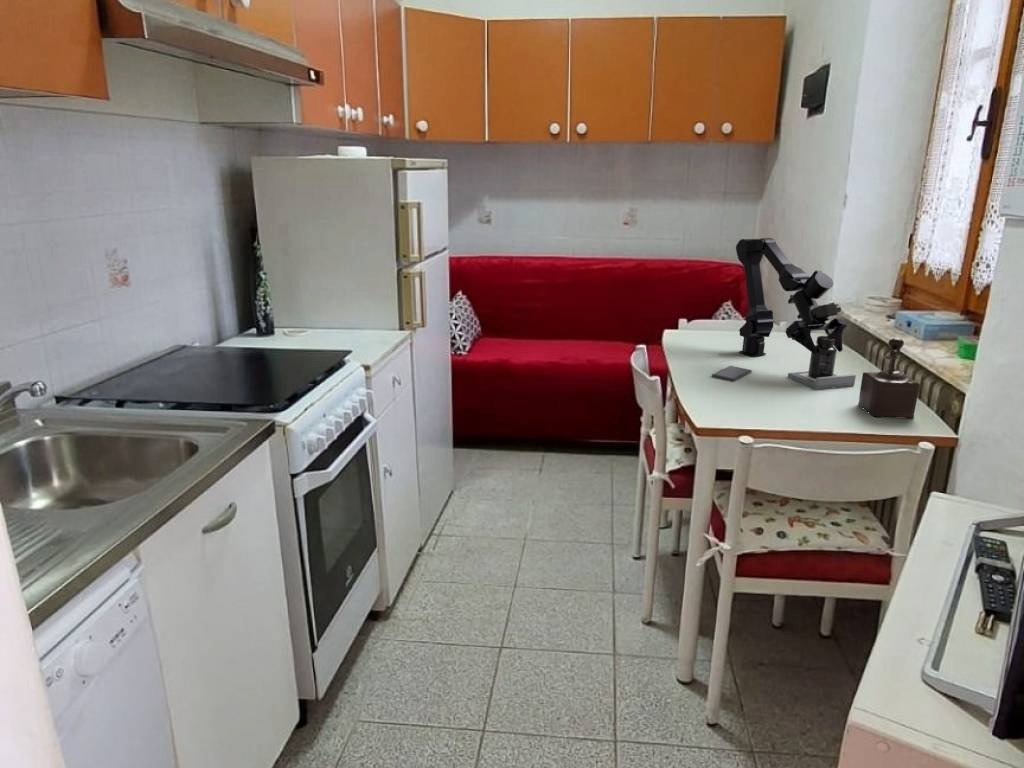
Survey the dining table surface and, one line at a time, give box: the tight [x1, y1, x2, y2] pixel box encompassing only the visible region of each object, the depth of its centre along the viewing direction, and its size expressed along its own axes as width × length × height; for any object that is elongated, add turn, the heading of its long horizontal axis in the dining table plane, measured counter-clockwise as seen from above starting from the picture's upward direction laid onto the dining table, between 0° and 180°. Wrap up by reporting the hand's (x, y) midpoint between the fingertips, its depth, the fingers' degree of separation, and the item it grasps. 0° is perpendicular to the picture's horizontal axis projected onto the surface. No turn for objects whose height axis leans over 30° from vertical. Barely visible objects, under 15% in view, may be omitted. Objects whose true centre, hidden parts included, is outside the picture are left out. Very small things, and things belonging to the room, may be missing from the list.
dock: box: [787, 370, 857, 390], centre depth 210 cm, size 13×13×3 cm
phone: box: [711, 365, 753, 382], centre depth 216 cm, size 7×13×1 cm, turn 139°
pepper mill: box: [858, 337, 920, 419], centre depth 185 cm, size 16×11×18 cm
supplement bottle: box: [808, 335, 838, 379], centre depth 208 cm, size 7×7×12 cm
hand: (828, 352), depth 207 cm, fingers open, 9 cm apart
